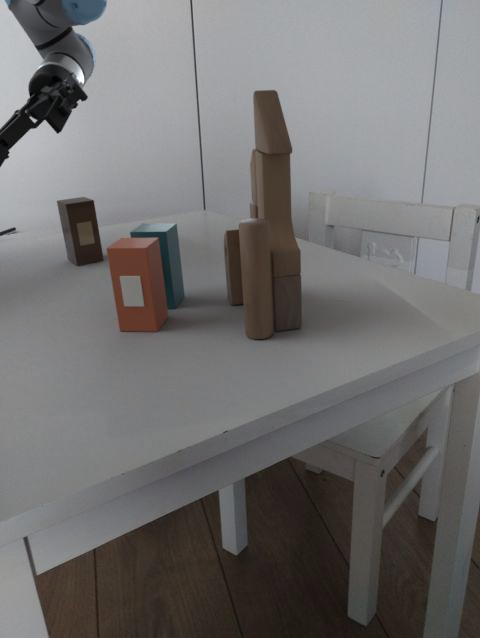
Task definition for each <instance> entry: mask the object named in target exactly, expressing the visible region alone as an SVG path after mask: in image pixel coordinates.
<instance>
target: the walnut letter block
mask: <svg viewBox="0 0 480 638" xmlns="http://www.w3.org/2000/svg"><path fill="white" fill-rule="evenodd" d="M56 205H57V209H58V210H57V211H58V216H59V220H60V224H61V230H62V236H63V240H64V241H63V242H64V246H65V250H66V256H67V260H68V261H69V262H70V263H72V264H74V265H75V266H76V267H77V266H84V265H88V264H94V263H98V262H102V261H103V262H104V260H105V259H104V252H103V246H102V241H101V235H100V228H99V223H98V218H97V217H98V216H97V211H96V204H95V200H94V199H91V198H88V197H85V196H79V197H73V198H66V199H59V200H56Z"/></svg>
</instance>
